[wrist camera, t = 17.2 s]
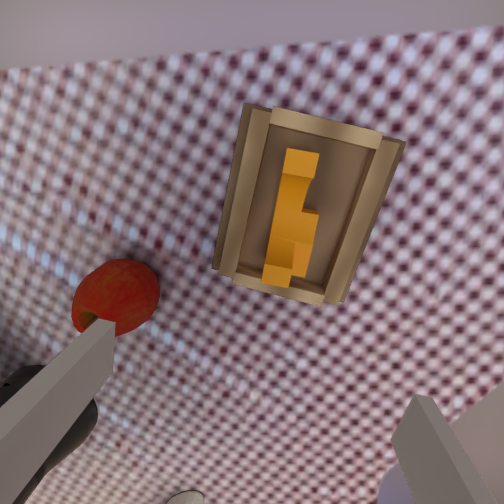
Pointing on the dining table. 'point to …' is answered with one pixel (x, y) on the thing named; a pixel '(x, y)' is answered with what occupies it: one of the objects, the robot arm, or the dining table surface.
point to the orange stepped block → (292, 221)
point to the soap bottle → (187, 498)
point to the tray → (317, 198)
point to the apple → (116, 296)
